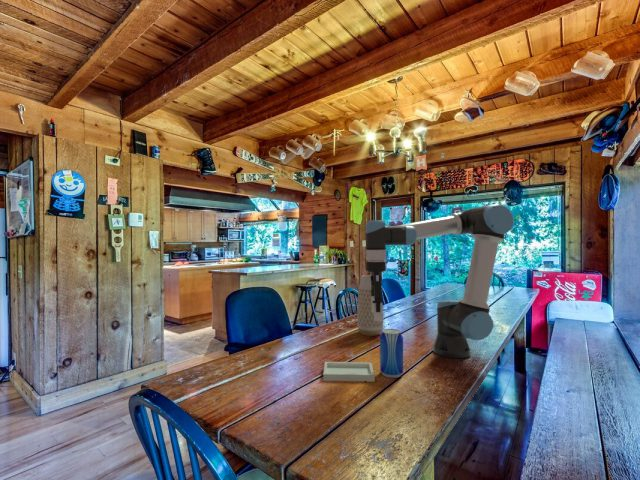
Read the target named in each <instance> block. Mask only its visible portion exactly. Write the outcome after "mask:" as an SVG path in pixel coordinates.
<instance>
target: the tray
mask: <svg viewBox="0 0 640 480" xmlns="http://www.w3.org/2000/svg"><path fill="white" fill-rule="evenodd" d="M322 374H323V376H322V377H323V379H322V380H323V381H324V382H327V381H328V382H364V381H367V383H368V382H371V383H373V382H375V377H376V376H375V371H374V368H373V364H372V362H362V361H361V362H357V361H355V362H354V361H353V362H351V361H350V362H349V361H344V362H343V361H325V362H324V366H323V373H322Z"/></svg>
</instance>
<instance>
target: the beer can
mask: <svg viewBox="0 0 640 480" xmlns="http://www.w3.org/2000/svg"><path fill="white" fill-rule="evenodd" d="M381 332H382V333H380V335H379V371H380V373H381V375H382V376H384V377H386V378H391V379H396V378H399V377H402V374H403V373H404V337H403V335H402V334H401V330H399V329H396V328H385V329H382V331H381Z"/></svg>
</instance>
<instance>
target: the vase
mask: <svg viewBox="0 0 640 480" xmlns="http://www.w3.org/2000/svg"><path fill="white" fill-rule="evenodd" d="M371 276H372V274H364V275H363V274H362V275H361V279H360V284H359V285H358V293H357V312H356V313H357V314H356V315H357V316H356V317H357V318H356V326H357V330H358V331H359V333H360V334H361V335H363V336H367V337H375V336H378V335H379V336H380V335H381V334H382V333H381V332H382V331H383V326H384V315H383V314H384V313H383V308H382V321H374V313H372V306H371V296H372V295H371V278H370V277H371ZM381 303H382V304H383V301H382V302H381Z"/></svg>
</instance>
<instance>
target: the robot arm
mask: <svg viewBox="0 0 640 480" xmlns="http://www.w3.org/2000/svg"><path fill="white" fill-rule="evenodd" d="M514 220H515V219H514V215H513V212H511V211H510V209H509V208H508V207H507V206H505V205H503V204H488V205H482V206H476V207H472V208H469V209H465V210H462V211H459V212H454V213H451V214H450V215H449V216H445V217H439V218H437V217H436V218H432V219H427V220H420V221H415V222H409V223H408V222H407V223H403V224H399V225H398V224H396V225H386V221H385V220H381V219H379V220H378V219H377V220H368V221H367V222H365V231H364V233H365V252H363V254H364V255H365V260H366V262H365V270H366V272H370V275H372V276H371V277H370V278H371V295H372V296H371V306H372V313H374V321H382V309H383V296H382V295H383V292H382V279H383V278H382V275H381V272H382V273H385V272H386V270H387V263H386V260H387V247H386V246H412V245H414V244H415V243H416V241H417V240H421V239H422V240H423V239H427V238H429V239H430V238H434V237H441V236H444V235H451V234H454V235H455V236H458V235H471V237H472V239H473V240H474V245H473V248H472V249H473V250H472V252H471V259H470V264H469V268H468V274H467V278H466V283H465V287H464V289H465V290H464V292H463V293H464V294H463V298H461V299H459V300H458V299H457V300H456V299H449V300H448V299H446V300H439V301H438V302H437V307H436V313H437V314H436V315H437V316H436V317H437V318H436V319H437V320H436V321H437V322H436V323H437V327H436V328H437V332H436V333H437V334H436V336H435V337H436V338H435V340H434V342H433V346H432V347H433V348H432V349H433V352H434V353H435V354H436V355H438V356H441V357H444V358H449V359H465V358H468V357H471V348H470V344H469V341H468V340H469V339H470V340H472V341H481V340H484V339H485V338H488V337H489V335H491V333H492V332H493V329H494V320H493V318H492V316H491V315H490V309H491V308H490V306H489V304H488V297H489V294H490V287H491V282H492V279H493V273H494V268H495V263H496V257H497V254H498V248H499V244H500V243H502V242H503V241H504V240H505V234H507V233H509V232H510V231H511V230H512V228H513V227H514V222H515V221H514ZM381 302H382V303H381ZM467 339H468V340H467Z"/></svg>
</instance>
